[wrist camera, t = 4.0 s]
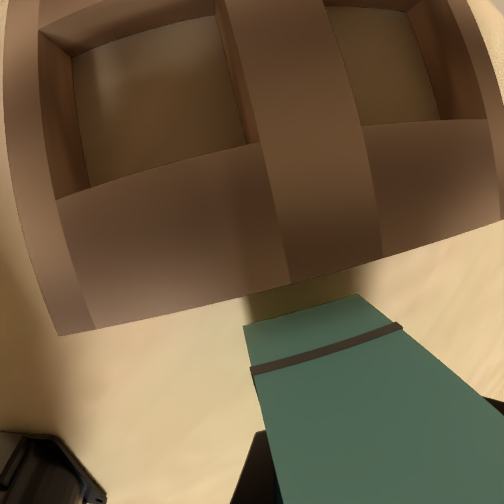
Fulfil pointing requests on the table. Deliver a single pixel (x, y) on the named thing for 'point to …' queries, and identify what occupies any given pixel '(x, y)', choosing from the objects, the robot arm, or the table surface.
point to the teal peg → (370, 413)
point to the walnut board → (244, 159)
